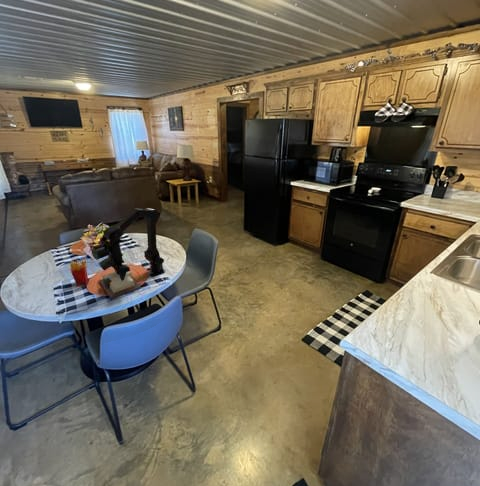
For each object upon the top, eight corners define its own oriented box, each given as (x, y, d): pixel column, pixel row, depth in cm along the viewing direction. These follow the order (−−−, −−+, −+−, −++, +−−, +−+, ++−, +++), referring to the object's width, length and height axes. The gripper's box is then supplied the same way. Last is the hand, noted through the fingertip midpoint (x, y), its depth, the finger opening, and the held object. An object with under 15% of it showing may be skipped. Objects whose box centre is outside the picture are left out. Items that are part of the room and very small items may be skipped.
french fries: (76, 281, 152) (70, 258, 146) (92, 278, 154) (87, 255, 149) (74, 289, 144) (67, 265, 138) (91, 286, 147) (84, 262, 141)
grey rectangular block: (125, 273, 157) (123, 268, 156) (127, 277, 153) (126, 271, 152) (103, 280, 150) (102, 275, 148) (106, 284, 146) (104, 278, 145)
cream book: (127, 271, 147) (127, 268, 146) (131, 275, 142) (131, 272, 141) (108, 277, 140) (108, 274, 140) (112, 282, 136) (111, 278, 135)
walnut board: (127, 272, 160) (126, 271, 160) (141, 288, 145) (140, 286, 145) (99, 282, 151) (98, 280, 150) (110, 299, 135) (110, 297, 135)
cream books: (130, 281, 149) (129, 275, 148) (134, 285, 145) (133, 280, 144) (110, 288, 143) (108, 282, 141) (113, 293, 139) (112, 287, 137)
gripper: (93, 250, 137) (99, 276, 143) (103, 263, 124) (110, 291, 130) (115, 245, 144) (120, 269, 150) (127, 256, 131) (132, 283, 137)
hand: (120, 278), depth 142 cm, fingers closed on cream book, 6 cm apart
